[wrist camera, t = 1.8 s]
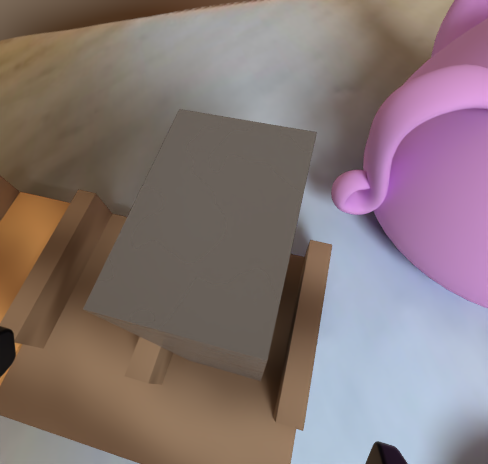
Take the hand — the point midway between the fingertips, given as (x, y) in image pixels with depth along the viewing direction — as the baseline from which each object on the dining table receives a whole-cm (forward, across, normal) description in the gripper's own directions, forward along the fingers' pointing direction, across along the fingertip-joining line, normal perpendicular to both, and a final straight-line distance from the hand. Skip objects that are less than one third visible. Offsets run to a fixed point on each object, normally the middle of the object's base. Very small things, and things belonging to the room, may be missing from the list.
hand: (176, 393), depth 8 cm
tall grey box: (+10, 0, +4) cm, 11 cm away
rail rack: (+10, +7, +6) cm, 14 cm away
